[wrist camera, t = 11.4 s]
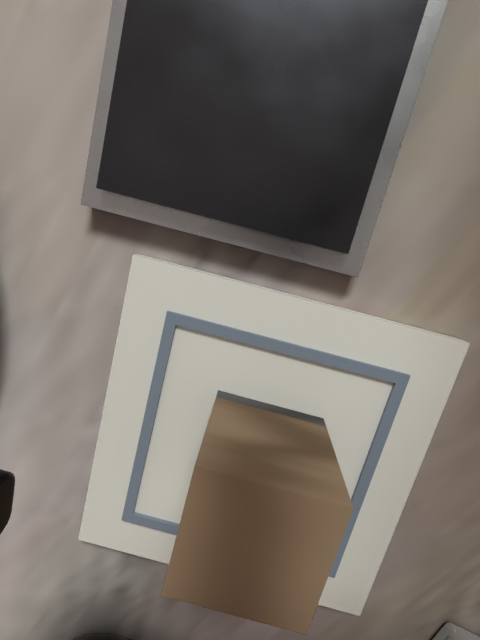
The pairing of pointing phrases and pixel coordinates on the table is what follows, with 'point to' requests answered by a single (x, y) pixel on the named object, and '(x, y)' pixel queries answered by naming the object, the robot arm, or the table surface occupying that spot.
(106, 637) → the spread jar
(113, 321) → the table surface
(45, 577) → the table surface
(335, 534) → the stamp
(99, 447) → the white flat square panel
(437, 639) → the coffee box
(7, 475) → the robot arm
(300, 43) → the ink pad
